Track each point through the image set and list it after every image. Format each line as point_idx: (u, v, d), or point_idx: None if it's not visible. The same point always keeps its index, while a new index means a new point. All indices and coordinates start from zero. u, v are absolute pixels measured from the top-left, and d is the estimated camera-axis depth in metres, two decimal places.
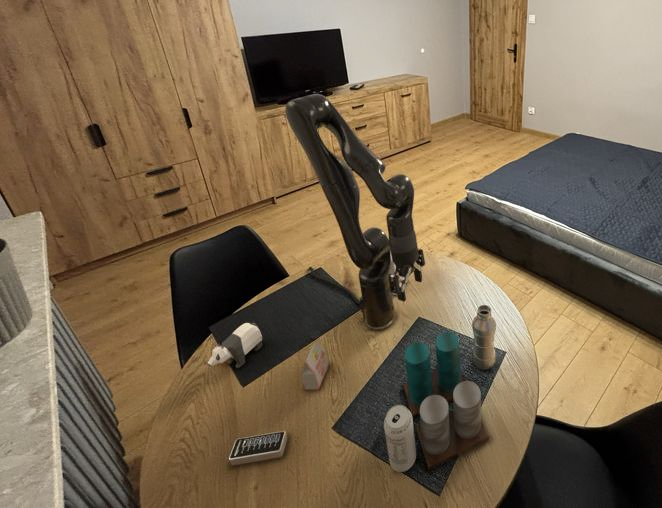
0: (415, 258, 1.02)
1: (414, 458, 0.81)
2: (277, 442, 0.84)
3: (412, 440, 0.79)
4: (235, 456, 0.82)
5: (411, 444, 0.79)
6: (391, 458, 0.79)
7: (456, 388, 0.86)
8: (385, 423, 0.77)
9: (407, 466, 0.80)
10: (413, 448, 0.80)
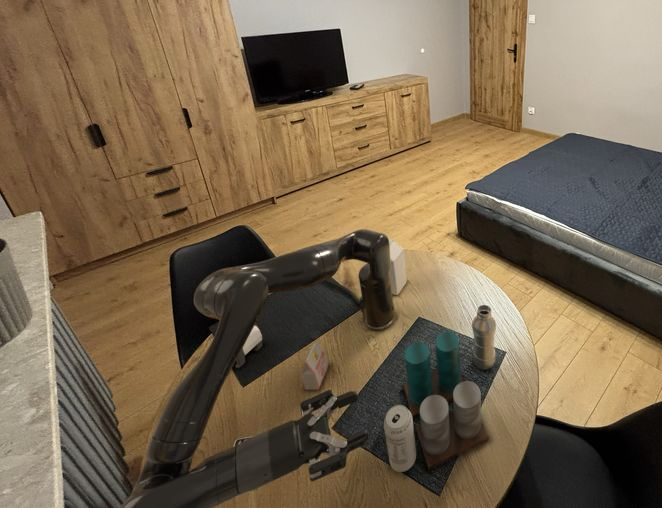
0: None
1: (414, 458, 0.81)
2: None
3: (412, 440, 0.79)
4: None
5: (411, 444, 0.79)
6: (391, 458, 0.79)
7: (456, 388, 0.86)
8: (385, 423, 0.77)
9: (407, 466, 0.80)
10: (413, 448, 0.80)
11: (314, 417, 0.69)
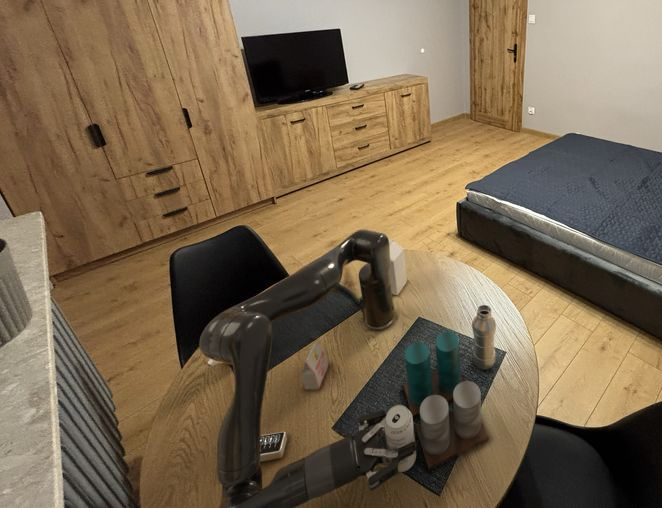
0: None
1: (414, 458, 0.81)
2: (277, 443, 0.84)
3: (412, 440, 0.79)
4: None
5: None
6: None
7: (456, 388, 0.86)
8: (385, 423, 0.77)
9: (407, 466, 0.80)
10: None
11: (368, 434, 0.78)
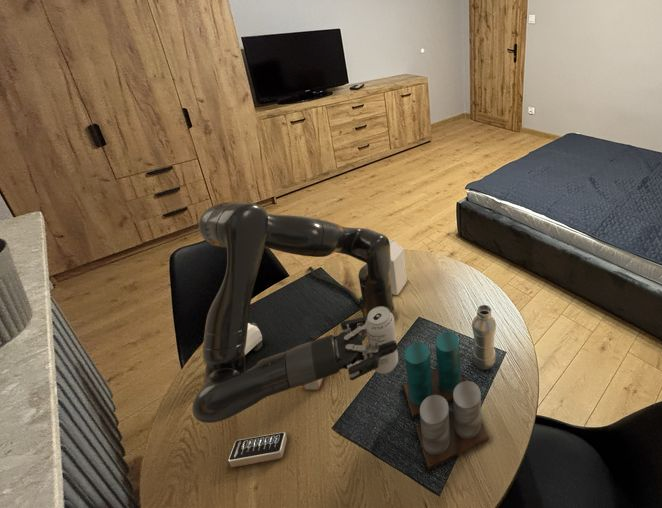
0: None
1: (396, 361, 0.83)
2: (277, 443, 0.84)
3: (393, 340, 0.80)
4: (235, 457, 0.82)
5: None
6: None
7: (456, 388, 0.86)
8: (366, 321, 0.78)
9: (388, 367, 0.81)
10: None
11: (350, 334, 0.80)
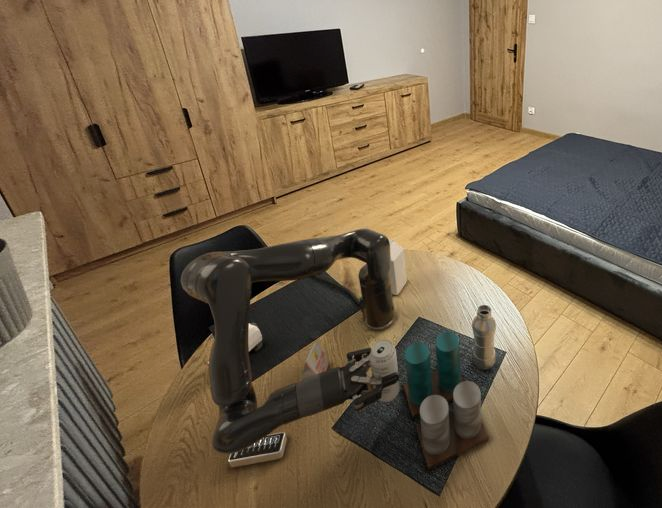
0: None
1: (397, 390, 0.89)
2: (277, 443, 0.84)
3: None
4: (234, 458, 0.82)
5: None
6: None
7: (456, 388, 0.86)
8: (370, 354, 0.84)
9: (390, 397, 0.87)
10: None
11: (355, 365, 0.86)
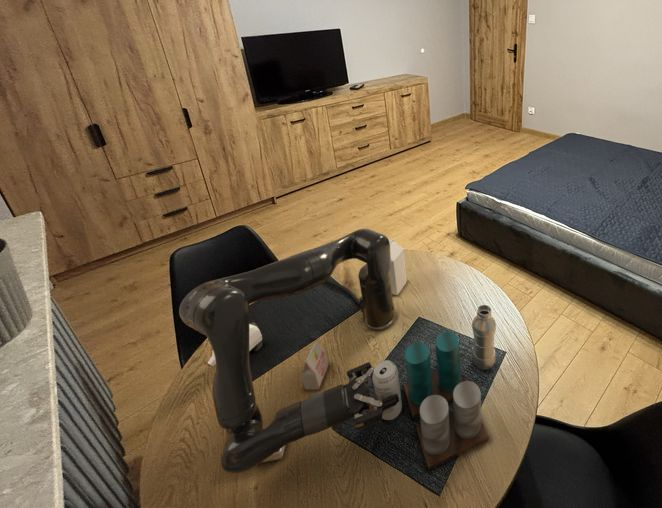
0: None
1: (400, 408, 0.91)
2: None
3: (398, 391, 0.89)
4: None
5: None
6: None
7: (456, 388, 0.86)
8: (373, 375, 0.87)
9: (393, 415, 0.90)
10: (399, 399, 0.90)
11: (357, 383, 0.88)
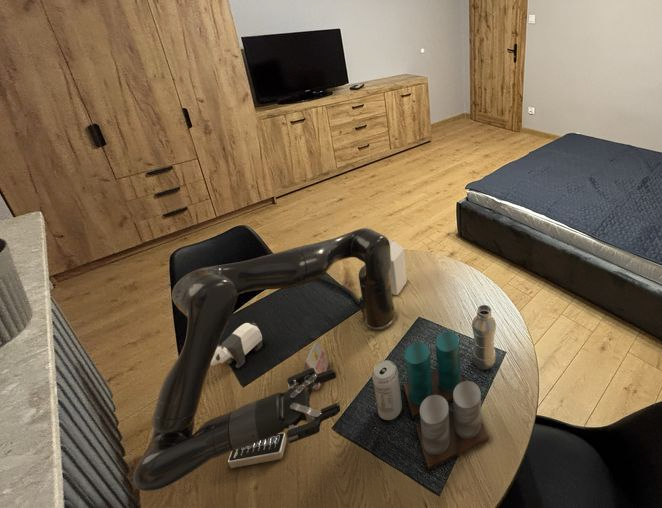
0: None
1: (400, 408, 0.91)
2: (277, 444, 0.84)
3: (398, 391, 0.89)
4: (234, 458, 0.82)
5: (396, 395, 0.89)
6: (379, 407, 0.89)
7: (456, 388, 0.86)
8: (373, 375, 0.87)
9: (393, 415, 0.90)
10: (399, 399, 0.90)
11: (296, 391, 0.82)
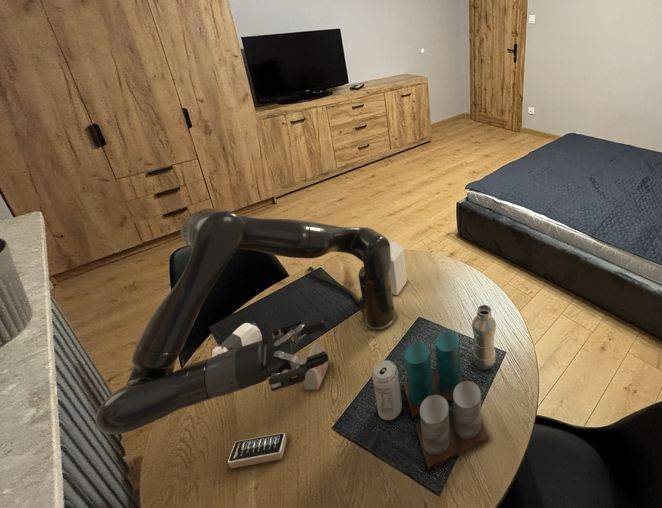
0: None
1: (400, 408, 0.91)
2: (277, 444, 0.84)
3: (398, 391, 0.89)
4: (234, 459, 0.82)
5: (396, 395, 0.89)
6: (379, 407, 0.89)
7: (456, 388, 0.86)
8: (373, 375, 0.87)
9: (393, 415, 0.90)
10: (399, 399, 0.90)
11: (281, 339, 0.75)
